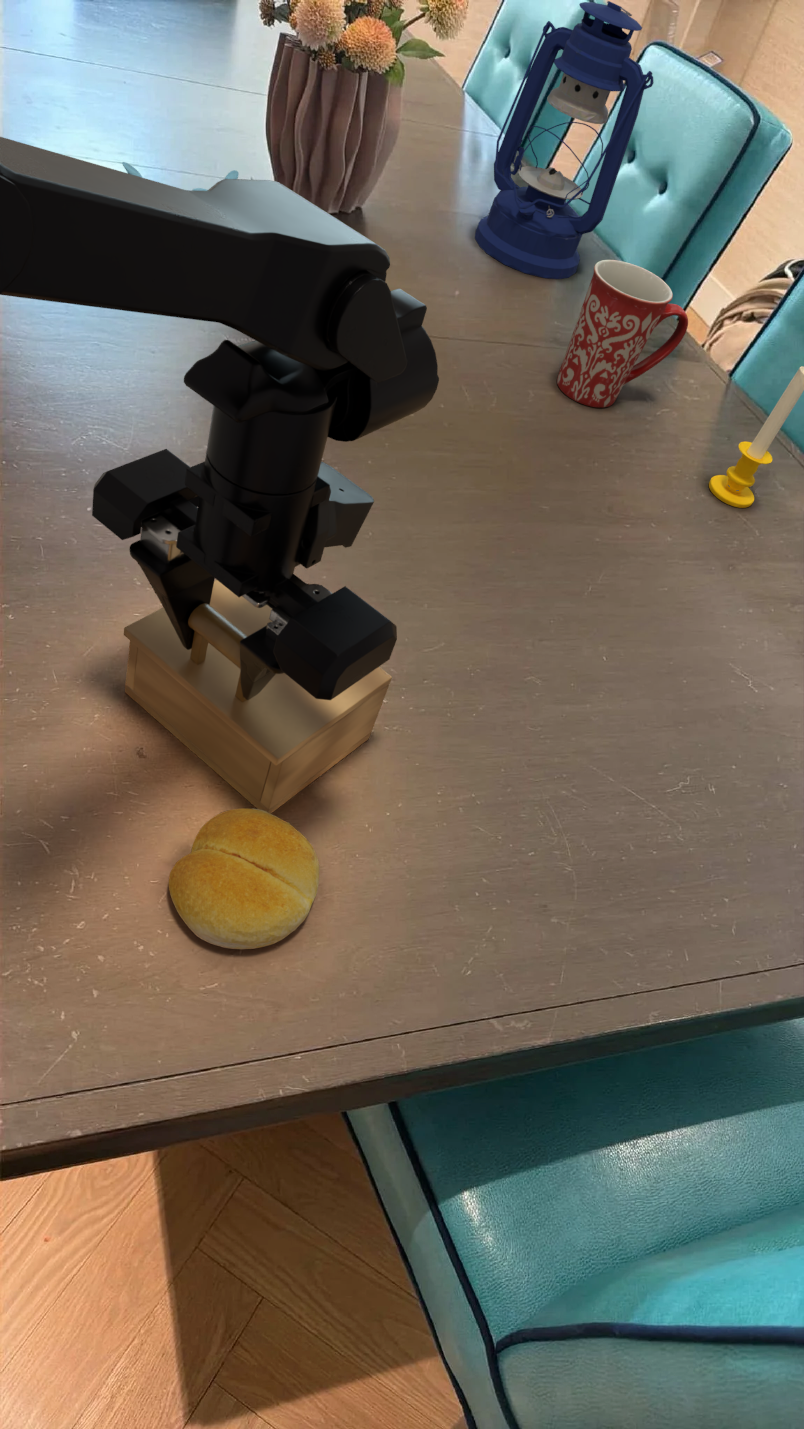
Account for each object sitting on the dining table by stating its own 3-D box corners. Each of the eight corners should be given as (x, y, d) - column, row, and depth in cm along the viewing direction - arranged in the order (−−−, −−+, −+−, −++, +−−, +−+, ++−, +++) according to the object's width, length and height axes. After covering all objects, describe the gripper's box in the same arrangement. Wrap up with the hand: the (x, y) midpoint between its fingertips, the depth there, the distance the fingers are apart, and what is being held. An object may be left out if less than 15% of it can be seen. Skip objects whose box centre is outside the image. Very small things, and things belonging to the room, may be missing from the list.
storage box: (266, 817, 64) (282, 762, 60) (124, 692, 68) (130, 631, 64) (369, 739, 71) (389, 684, 67) (234, 628, 75) (246, 570, 71)
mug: (554, 403, 112) (603, 289, 103) (543, 362, 118) (588, 250, 109) (655, 427, 115) (712, 318, 105) (639, 385, 121) (692, 279, 111)
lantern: (599, 268, 143) (699, 30, 122) (553, 292, 133) (653, 37, 112) (500, 213, 147) (581, -27, 125) (448, 233, 136) (526, -25, 115)
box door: (276, 766, 60) (291, 710, 56) (122, 635, 63) (128, 574, 60) (390, 684, 67) (410, 630, 63) (246, 570, 71) (258, 513, 67)
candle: (760, 502, 110) (842, 376, 99) (735, 512, 107) (817, 384, 96) (725, 474, 112) (801, 348, 101) (699, 484, 109) (775, 355, 98)
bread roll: (144, 916, 57) (149, 879, 55) (221, 810, 64) (229, 772, 61) (270, 983, 57) (282, 949, 54) (335, 869, 63) (349, 833, 60)
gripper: (492, 508, 53) (412, 701, 64) (244, 335, 58) (210, 541, 69) (361, 587, 46) (296, 789, 57) (91, 381, 51) (80, 604, 62)
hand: (221, 670), depth 62 cm, fingers closed on box door, 5 cm apart
